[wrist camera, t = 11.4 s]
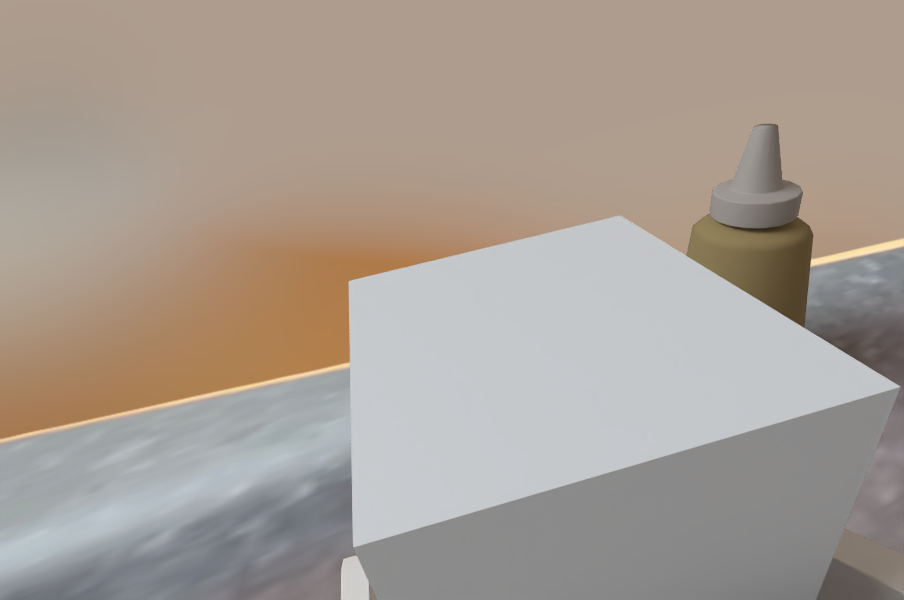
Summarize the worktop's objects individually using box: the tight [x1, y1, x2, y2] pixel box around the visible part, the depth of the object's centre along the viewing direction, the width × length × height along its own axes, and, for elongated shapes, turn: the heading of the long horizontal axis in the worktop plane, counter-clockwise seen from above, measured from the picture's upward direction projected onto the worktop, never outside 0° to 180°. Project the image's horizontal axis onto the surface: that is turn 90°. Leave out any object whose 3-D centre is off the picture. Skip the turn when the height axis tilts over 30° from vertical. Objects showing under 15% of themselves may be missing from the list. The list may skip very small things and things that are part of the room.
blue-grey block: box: [349, 216, 900, 600], centre depth 9 cm, size 5×5×12 cm
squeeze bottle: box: [687, 124, 813, 328], centre depth 31 cm, size 8×8×18 cm
